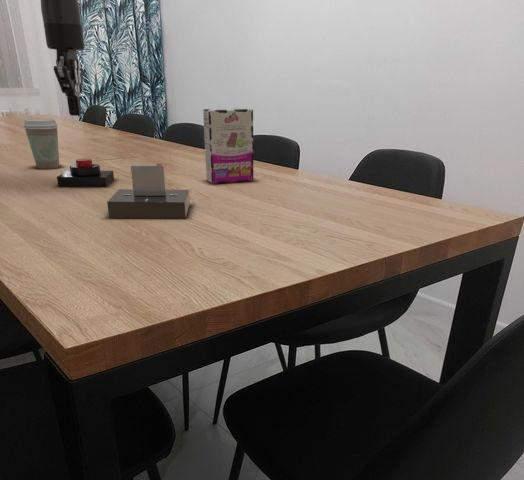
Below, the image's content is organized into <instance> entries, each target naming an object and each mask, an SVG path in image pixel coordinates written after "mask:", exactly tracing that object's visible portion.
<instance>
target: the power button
mask: <svg viewBox="0 0 524 480" xmlns="http://www.w3.org/2000/svg"><path fill="white" fill-rule="evenodd" d="M75 164H76V165H77V167H91V166H93V164H94V163H93V159H92V158H85V157H84V158H77V159H75Z"/></svg>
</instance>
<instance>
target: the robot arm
mask: <svg viewBox="0 0 524 480" xmlns="http://www.w3.org/2000/svg"><path fill="white" fill-rule="evenodd" d="M40 11H41V17H42V23H43V31H44V37H45V43H46V47H47V48H48V49H50V50H55V51H56V60H55V65H54V66H53V72H54V75H55V77H56V79H57V82H58V84H59V88H60V90H61V92H62V94H64V96H65V97H66V99H67V107H68V113H69V115H70V116H72V117H73V116H74V117H75V116H81V115H82V109H81V100H80V97H81V94H82V93H83V86H84V85H83V83H84V69H83V67H81V62H80V59H79V57H78V54H77V51H84V50H85V48H86V47H85V40H84V39H85V38H84V32H83V22H82V15H81V9H80V4H79V0H40Z"/></svg>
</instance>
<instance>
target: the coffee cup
mask: <svg viewBox="0 0 524 480" xmlns="http://www.w3.org/2000/svg"><path fill="white" fill-rule="evenodd" d="M58 128H59V126H58V123H57V121H56V120H55V119H54V118H46V117H45V118H43V117H41V118H26V119H24V121H23V129H24V130H25V133H26V137H27V140H28V143H29V146H30V149H31V150H30V151H31V153H32V156H33V159H34V162H35V166H36V168H37V169H39V170H53V169H59V168H60V153H59V137H58Z"/></svg>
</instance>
